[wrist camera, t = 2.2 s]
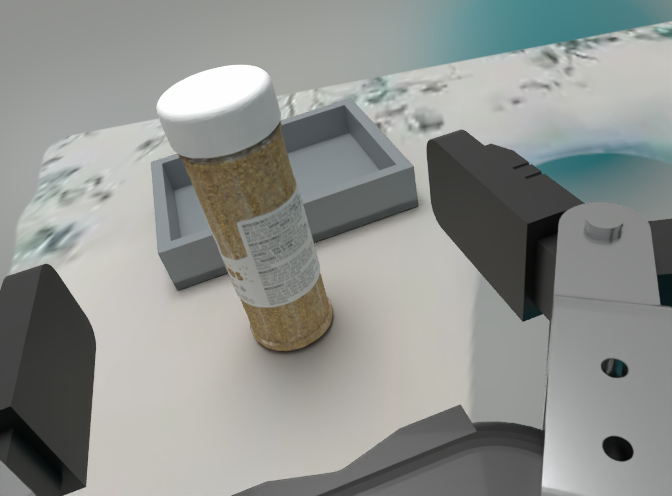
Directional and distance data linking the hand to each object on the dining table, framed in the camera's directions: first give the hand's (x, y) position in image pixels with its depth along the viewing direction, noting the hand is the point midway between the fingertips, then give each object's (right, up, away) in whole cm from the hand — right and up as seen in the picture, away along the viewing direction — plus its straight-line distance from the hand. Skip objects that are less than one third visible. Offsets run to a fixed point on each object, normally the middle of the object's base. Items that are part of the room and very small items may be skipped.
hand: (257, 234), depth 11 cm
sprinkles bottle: (-1, -4, +18) cm, 18 cm away
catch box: (-2, +3, +27) cm, 27 cm away
